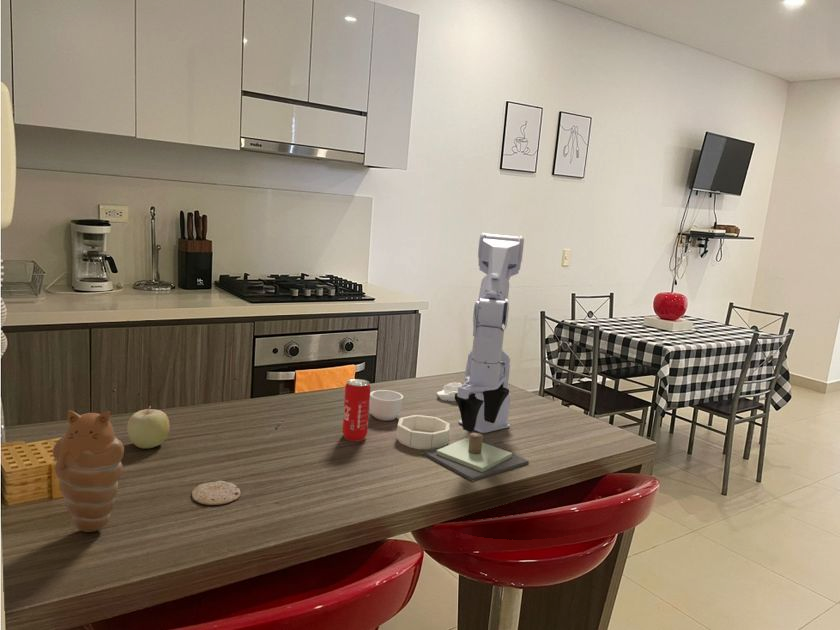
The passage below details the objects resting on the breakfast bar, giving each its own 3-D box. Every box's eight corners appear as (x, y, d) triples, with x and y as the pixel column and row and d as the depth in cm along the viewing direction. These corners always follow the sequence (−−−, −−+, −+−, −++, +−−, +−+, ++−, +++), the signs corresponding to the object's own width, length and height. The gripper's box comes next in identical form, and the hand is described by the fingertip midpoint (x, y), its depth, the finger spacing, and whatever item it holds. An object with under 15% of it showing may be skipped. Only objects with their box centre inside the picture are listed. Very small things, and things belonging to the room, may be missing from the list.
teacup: (408, 418, 147) (410, 396, 146) (385, 425, 141) (387, 402, 140) (378, 407, 153) (379, 385, 152) (354, 413, 147) (356, 391, 146)
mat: (478, 440, 137) (479, 437, 137) (528, 463, 126) (528, 460, 126) (422, 454, 127) (423, 451, 127) (471, 481, 116) (472, 478, 116)
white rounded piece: (453, 389, 158) (429, 379, 165) (452, 406, 159) (427, 395, 166) (482, 385, 164) (457, 375, 172) (480, 401, 165) (455, 391, 172)
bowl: (425, 427, 142) (426, 412, 141) (458, 443, 134) (459, 428, 133) (387, 435, 135) (388, 420, 134) (419, 453, 127) (420, 437, 126)
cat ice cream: (46, 546, 85) (43, 419, 82) (68, 517, 93) (66, 399, 89) (116, 545, 87) (116, 420, 83) (132, 516, 94) (132, 401, 91)
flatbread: (240, 506, 101) (240, 500, 100) (190, 509, 98) (190, 503, 98) (239, 483, 108) (240, 477, 108) (193, 485, 106) (193, 480, 106)
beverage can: (362, 443, 130) (366, 387, 127) (338, 439, 131) (342, 383, 128) (369, 434, 135) (373, 380, 132) (346, 431, 136) (350, 377, 133)
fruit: (176, 447, 120) (177, 407, 119) (137, 456, 115) (137, 414, 113) (158, 435, 125) (158, 396, 124) (120, 443, 120) (120, 402, 118)
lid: (467, 440, 134) (469, 421, 134) (512, 456, 128) (514, 436, 127) (436, 454, 126) (437, 433, 125) (482, 472, 119) (484, 450, 118)
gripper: (489, 350, 131) (482, 412, 133) (447, 360, 120) (441, 428, 122) (518, 357, 127) (511, 422, 129) (478, 369, 115) (471, 439, 118)
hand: (479, 426), depth 125 cm, fingers open, 7 cm apart
